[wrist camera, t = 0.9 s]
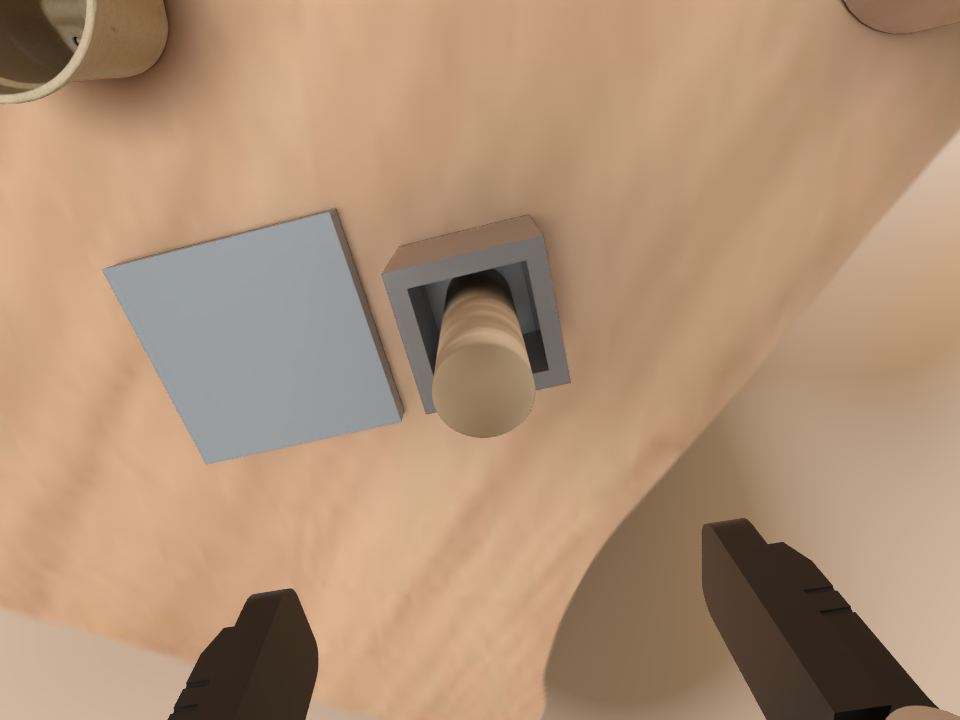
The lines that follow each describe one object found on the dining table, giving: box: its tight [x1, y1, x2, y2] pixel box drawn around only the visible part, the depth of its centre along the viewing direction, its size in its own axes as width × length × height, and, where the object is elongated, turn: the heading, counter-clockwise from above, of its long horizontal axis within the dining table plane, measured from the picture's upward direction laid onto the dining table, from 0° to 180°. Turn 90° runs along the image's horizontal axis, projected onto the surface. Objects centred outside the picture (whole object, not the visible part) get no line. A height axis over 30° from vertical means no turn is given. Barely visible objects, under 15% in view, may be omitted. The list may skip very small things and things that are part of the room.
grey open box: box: [381, 215, 571, 414], centre depth 30 cm, size 8×8×7 cm
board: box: [102, 209, 404, 465], centre depth 33 cm, size 14×14×2 cm
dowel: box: [432, 268, 535, 438], centre depth 26 cm, size 4×4×13 cm
